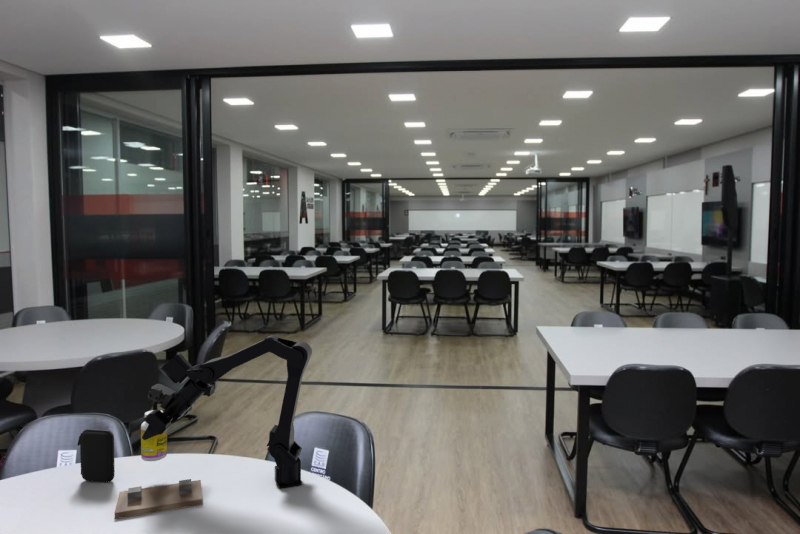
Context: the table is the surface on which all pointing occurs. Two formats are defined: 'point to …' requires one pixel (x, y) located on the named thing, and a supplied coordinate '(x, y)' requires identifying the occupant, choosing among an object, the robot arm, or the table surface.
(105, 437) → the carrying case or bag
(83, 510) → the table surface
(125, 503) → the board
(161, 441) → the supplement bottle
